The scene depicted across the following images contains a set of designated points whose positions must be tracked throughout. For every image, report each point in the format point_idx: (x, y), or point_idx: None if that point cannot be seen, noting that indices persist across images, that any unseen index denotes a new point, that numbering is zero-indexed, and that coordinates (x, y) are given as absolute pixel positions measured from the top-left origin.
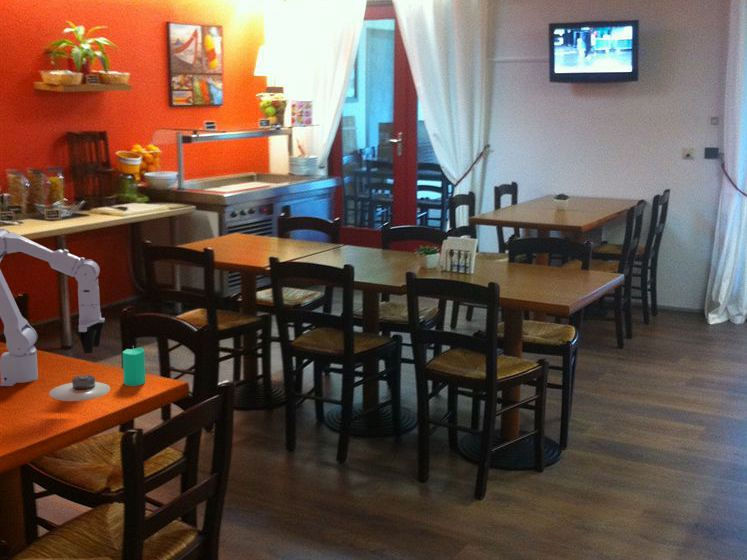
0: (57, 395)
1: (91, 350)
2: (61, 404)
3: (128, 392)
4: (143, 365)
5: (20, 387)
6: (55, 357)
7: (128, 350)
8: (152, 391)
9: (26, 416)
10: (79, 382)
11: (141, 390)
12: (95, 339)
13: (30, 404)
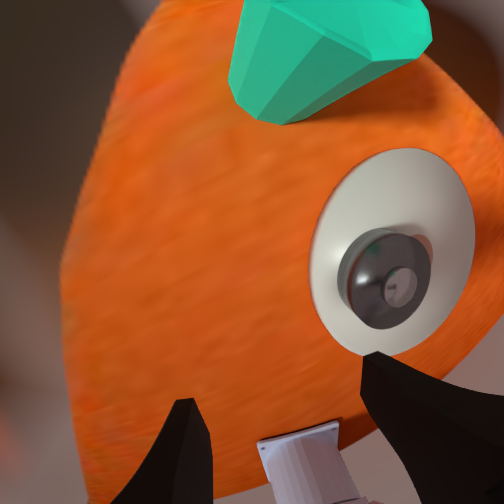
0: (443, 304)
1: (394, 360)
2: None
3: None
4: None
5: (338, 435)
6: (91, 463)
7: (315, 24)
8: None
9: (496, 296)
10: (429, 275)
11: None
12: (198, 461)
13: (451, 338)
